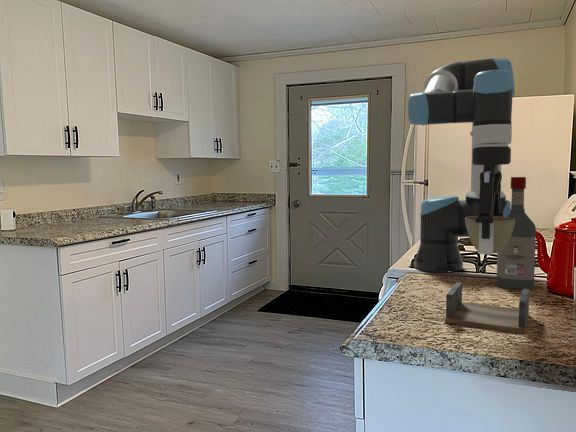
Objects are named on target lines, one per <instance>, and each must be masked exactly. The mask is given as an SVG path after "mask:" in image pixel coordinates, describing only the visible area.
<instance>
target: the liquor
mask: <svg viewBox="0 0 576 432" xmlns="http://www.w3.org/2000/svg"><path fill="white" fill-rule="evenodd" d="M526 182H527V177H526V176H511V177H510V189H511V201H510V202H511V208H510V213H509V214H508V216H507V217H509V218H514V219H516V220H515V225H514V229H513V232H512V235H511V237H510V239H509V241H508V243H507V244H506V246H505V247H504V249H503V250H502V251H501V252H498V253H496V254H497V256H496V284H497V286H498V287H499V288H502V289H507V290H516V291H523V289H529V291H530V290H533V288H534V285H535V269H536V267H535V265H536V263H535V262H536V236H537V235H536V233H537V228H536V227H537V226H536V225H535V223H534V221H532V219H531V218H530V217H529V216H528V215H527V213H526V211H525V189H527V183H526Z"/></svg>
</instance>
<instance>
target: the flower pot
mask: <svg viewBox="0 0 576 432" xmlns="http://www.w3.org/2000/svg"><path fill="white" fill-rule="evenodd" d="M475 219H478V216H472V217H466V218H465V222H466V228H467V231H468V234H469V237H468V238H469V239H470V241H471V244H472V245H473V247H474V249H475V250H476V251H477V252H479V223H476V222H475ZM515 220H516V219H514V218H509V217H500V216H493V223H494V237H493V254H495V253H496V254H497V253H498V252H501V251H502V250H503V249H504V247H505V246H506V244H507V243H508V241H509V239H510V237H511V235H512V232H513V229H514V225H515Z"/></svg>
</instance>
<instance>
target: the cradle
mask: <svg viewBox="0 0 576 432" xmlns="http://www.w3.org/2000/svg"><path fill="white" fill-rule="evenodd" d="M521 291H522V292H521V296H520V299H519V302H518V308H515V307H506V306H497V305H491V304H490V305H488V304H481V303H479V304H478V303H471V302H463V283H462V282H455V284H454V285H453V286H452V287H451V288H450V289H449V291H448V292H447V293H446V297H445V299H446V301H445V302H446V303H445V319H444V324H451V325H459V326H466V327H472V328H479V329H486V330H494V331H499V332H501V331H502V332H509V333H515V334H520V335H521V334H522V335H523V334H524V335H525V334H526V329H527V325H528V319H529V313H530V312H529V311H530V309H529V306H530V290H529V289H523V290H521Z"/></svg>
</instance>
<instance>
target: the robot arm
mask: <svg viewBox="0 0 576 432" xmlns="http://www.w3.org/2000/svg"><path fill="white" fill-rule="evenodd" d="M512 65H513V64H512V62H511V60H510V59H508V58H506V57H504V58H503V57H502V58H501V57H500V58H497V57H496V58H495V57H494V58H485V59H477V60H476V59H475V60H467V61H466V60H465V61H456V62H452V63H448V64H445V65H443V66H441V67H439V68H437V69H435V70H434V71H432V72H431V73H430V74H429V75H428V76H427V77H426V80H425V81H424V85H423V91H421V92H417V93H412V94H410V95H409V96H408V102H407V117H408V118H407V119H408V122H409V124H411V125H413V126H426V125H442V124H444V125H447V124H468V123H470V124H471V131H470V132H469V135H470V136H471V162H470V163H471V165H470V166H471V167H470V168H471V169H470V171H471V172H470V173H471V174H470V175H471V176H470V190H469V191H468V192H467V193H466V194H465V200H464V199H463V200H460V198H459V196H458V195H449V196H440V197H432V198H427V199H424V200H422V202H421V204H420V214H419V216H420V233H419V234H420V235H419V236H420V241H419V243H420V245H419V247H418V250H417V253H416V256H415V259H414V268H415V267H416V268H415V269H418V270H420V269H421V270H420V271H424V270H426V271H425V272H430V271H432V272H431V273H449V272H448V271H456V272H458V271H457V270H460V271H462V270H463V269H464V262H463V258H462V255H461V252H460V249H459V245H458V244H459V243H458V242H459V241H458V238H460V237H462V238H470V237H469V234H468V231H467V228H466V222H465V218H466V217H472V216H478V219H475V222H476V223H479V251H478V254H479V255H494V253H493V237H494V223H493V216H500V217H507V216H508V214H509V213H510V209H511V201H510V200H509V199H507V196H506V194H505V193H504V192H503V191H502V178H503V174H502V165H505V166H506V165H509V164H511V162H512V161H511V160H512V159H511V157H512V154H511V153H512V147H510V146H509V145H510V144H512V134H513V130H512V129H513V124H512V116H513V115H512V111H513V98H514V97H515V94H516V93H515V77H514V71H513V66H512ZM462 268H463V269H462ZM461 269H462V270H461Z"/></svg>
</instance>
